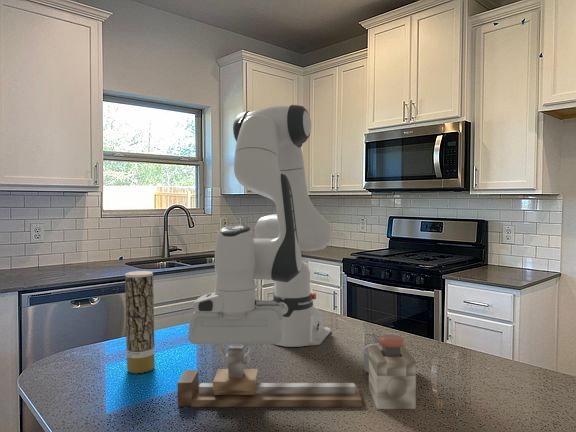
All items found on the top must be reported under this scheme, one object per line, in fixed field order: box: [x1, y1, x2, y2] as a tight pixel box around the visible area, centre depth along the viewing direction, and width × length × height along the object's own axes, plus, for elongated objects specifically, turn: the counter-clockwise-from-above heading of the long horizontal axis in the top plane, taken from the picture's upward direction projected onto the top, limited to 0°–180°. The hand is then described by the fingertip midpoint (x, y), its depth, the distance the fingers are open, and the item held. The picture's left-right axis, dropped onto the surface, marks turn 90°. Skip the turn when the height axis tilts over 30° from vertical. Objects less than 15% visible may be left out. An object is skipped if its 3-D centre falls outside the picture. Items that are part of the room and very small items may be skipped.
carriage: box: [212, 345, 259, 395], centre depth 98 cm, size 9×7×9 cm
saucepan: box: [361, 333, 410, 374], centre depth 117 cm, size 12×20×6 cm, turn 1°
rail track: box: [176, 345, 417, 410], centre depth 98 cm, size 50×10×10 cm, turn 89°
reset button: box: [378, 334, 405, 357], centre depth 97 cm, size 5×5×4 cm
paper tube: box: [124, 270, 156, 374], centre depth 114 cm, size 7×7×25 cm
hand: (236, 362), depth 98 cm, fingers closed on carriage, 3 cm apart
